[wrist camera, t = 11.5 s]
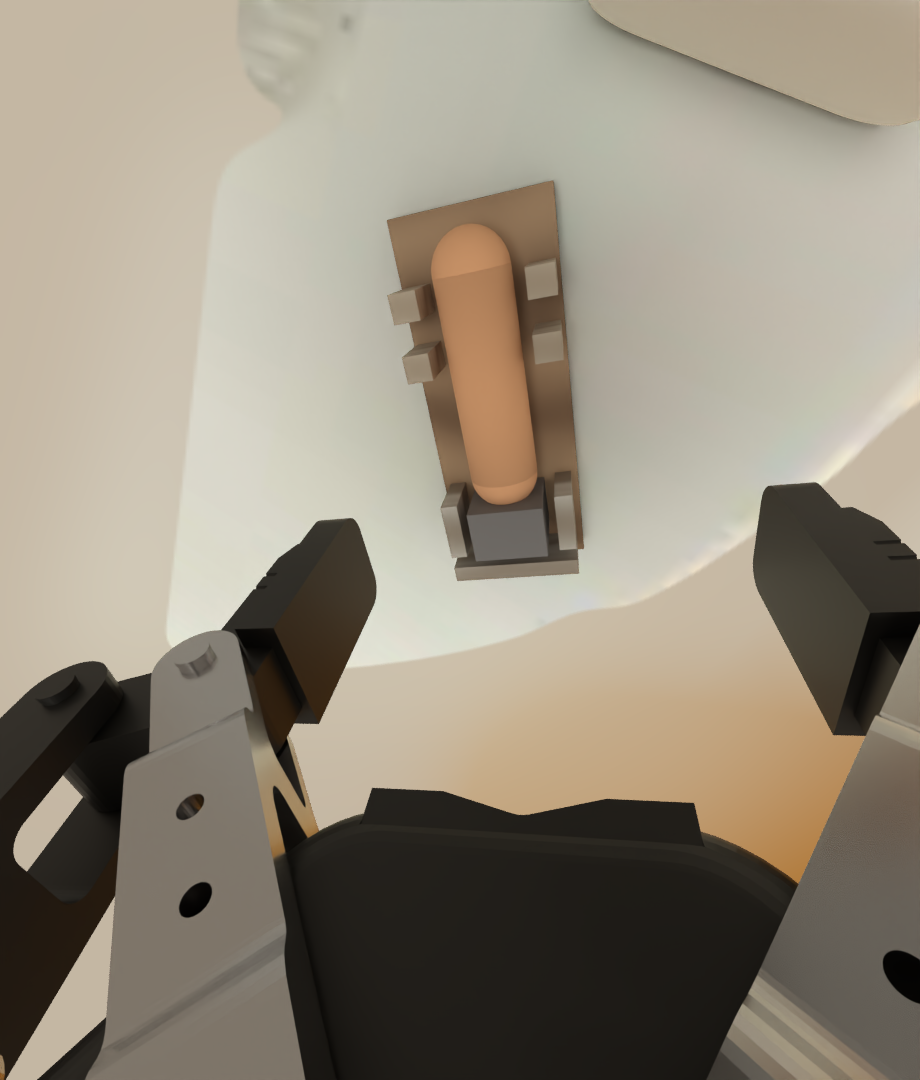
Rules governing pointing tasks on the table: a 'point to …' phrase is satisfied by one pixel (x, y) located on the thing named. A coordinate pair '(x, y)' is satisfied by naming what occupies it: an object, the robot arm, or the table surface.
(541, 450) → the brown pegged board
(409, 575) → the table surface
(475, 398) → the tan rounded rod
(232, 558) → the table surface
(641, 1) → the cable organizer
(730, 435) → the table surface
